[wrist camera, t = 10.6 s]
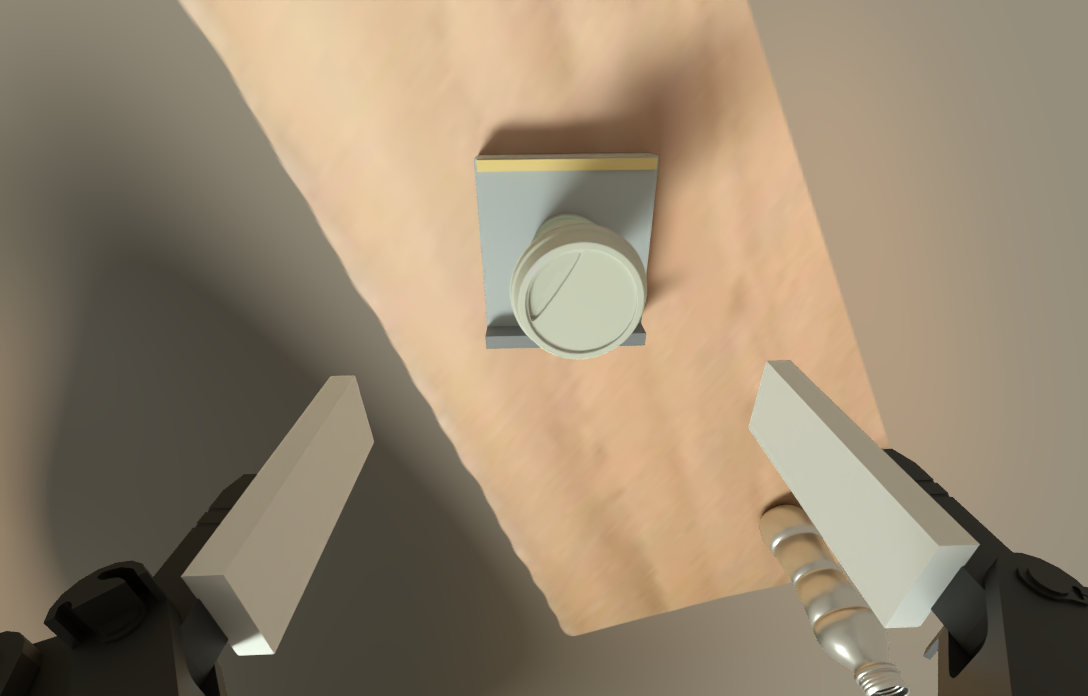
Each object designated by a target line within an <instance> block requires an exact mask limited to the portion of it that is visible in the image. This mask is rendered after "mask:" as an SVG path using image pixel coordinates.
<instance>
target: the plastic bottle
mask: <svg viewBox="0 0 1088 696" xmlns="http://www.w3.org/2000/svg"><path fill="white" fill-rule="evenodd" d="M759 529H760V533H761V536H762V539H763V541H764V543H765V544H766V545H767V547H768V548H769V550H770V551H771V552H772V553H773V555H774V556H775V557H776V558H777V559H778V561H779V563H780V564H781V566H782V567H783V569H784V570H785V572H786V573H787V575H788V576H789V578H790V580H791V581H792V583H793V586H794V587H795V589H796V591H797V594H798V596H799V598H800V600H801V602H802V604H803V606H804V609H805V611H806V614H807V616H808V619H809V621H810V624H811V627H812V629H813V632H814V634H815V637H816V639H817V641H818V643H819V644H820V645H821V647H822V648H823V649H824V650H825V651H826V652H827V653H828V654H829V655H830V656H832V657H833V658H834V659H835V660H837V661H838V662H839V663H841V664H843V665H844V666H846V667H847V668H849V669H851V670H852V671H853V672H854V673H855V675H854V679H855V681H856V682H857V684H858V685H859V686H860V687H861V689H862V690H863V692H864V694H865V695H866V696H908V695H909V694H910V689H909V686H908V685H907V683H906V682H905V681H904V679H903V677H902V676H901V674H900V671H899V670H898V668H897V667H896V665H894V664H892V663H890V661H889V640H888V633H887V631H886V628H884V627H883V625H882V624H881V622H880V621H879V619H878V618H877V616H876V615H875V614H874V612H873V611H872V609H871V608H870V606H869V605H868V603H867V602H866V601H865V600H864V598H863V597H862V596H861V595H860V594H859V593H858V592H857V591H856V589H855V588H854V587H853V586H852V584H851V583H850V581H849V580H848V579H847V577H846V576H845V575H844V574H843V572H842V571H841V569H840V568H839V567H838V565H837V564H836V562H835V560H834V558H833V556H832V555H831V553H830V551H829V549H828V548H827V546H826V544H825V542H824V540H823V537H822V536H821V534H820V533H819V531H818V530H817V528H816V527H815V525H814V524H813V522H812V521H811V519H810V518H809V516H808V515H807V513H806V512H805V511H804V510H803V509H801V508H799V507H796V506H793V505H781V506H777V507H774V508H772V509H770V510H768V511H767V512H766V513H765V514H764V515H763V516H762V518H761V520H760V525H759Z"/></svg>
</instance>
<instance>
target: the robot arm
mask: <svg viewBox="0 0 1088 696" xmlns="http://www.w3.org/2000/svg"><path fill="white" fill-rule="evenodd" d="M749 430H750V431H751V433H752V434H753V436H754V437H755V438H756V440H757V441H758V443H759V444H760V446H761V447H762V449H763V450H764V452H765V453H766V455H767V456H768V458H769V459H770V461H771V462H772V463H773V465H774V466H775V468H776V469H777V471H778V472H779V474H780V475H781V477H782V478H783V480H784V481H785V483H786V484H787V486H788V487H789V488H790V490H791V491H792V493H793V494H794V496H795V497H796V499H797V500H798V502H799V503H800V505H801V506H802V508H803V509H804V511H805V512H806V513H807V515H808V516H809V518H810V519H811V521H812V522H813V524H814V525H815V527H816V528H817V530H818V531H819V533H820V534H821V536H822V537H823V538H824V540H825V541H826V543H827V544H828V546H829V547H830V549H831V550H832V552H833V553H834V555H835V556H836V558H837V559H838V561H839V562H840V563H841V565H842V566H843V568H844V569H845V571H846V572H847V574H848V575H849V577H850V578H851V579H852V581H853V583H854V584H855V586H856V587H857V588H858V590H859V591H860V593H861V594H862V596H863V597H864V599H865V600H866V602H867V603H868V605H869V606H870V608H871V609H872V611H873V612H874V614H875V615H876V616H877V618H878V619H879V621H880V622H881V624H882V625H883V627H884V628H899V627H919V626H920V625H921V624H922V623H923V621H924V620H925V618H926V617H927V616H928V614H929V613H930V612H931V610H932V611H933V612H934V613H935V615H936V616H937V617H938V618H939V620H940V621H941V622H942V623H943V625H944V626H943V628H942V629H941V630H940V631H939V633H938V634H937V635H936V637H935V638H934V639H933V640H932V642H931V643H930V644H929V646H928V647H927V648H926V651H925V653H924V657H926V658H928V659H931V658H932V657H933V655H934V654H935V653H936V652H937V651H938V696H1088V587H1083V586H1082V585H1081V584H1080V583H1079V582H1078V581H1077V580H1076V579H1074V578H1073V577H1071V576H1070V575H1069V574H1067V573H1065V572H1064V571H1063V570H1061V569H1060V568H1058V567H1056V566H1054V565H1052V564H1050V563H1048V562H1046V561H1044V560H1042V559H1040V558H1036V557H1033V556H1030V555H1026V554H1023V553H1013V552H1012V551H1010V550H1009V549H1008V548H1007V547H1006V546H1005V545H1004V544H1003V543H1002V542H1001V541H1000V540H999V539H997V538H996V537H995V536H994V535H993V534H992V533H991V532H990V531H989V530H988V529H987V528H985V527H984V526H983V525H982V524H981V523H980V522H979V521H978V520H977V519H976V518H975V517H973V515H971V514H970V513H969V512H968V511H967V510H966V509H965V508H964V507H963V506H961V504H960V503H958V502H957V501H956V500H955V499H954V498H953V497H949V495H948V492H946V491H945V490H944V489H943V488H942V487H941V486H940V485H939V484H938V483H934V481H933V479H932V478H931V477H930V476H929V475H928V474H927V473H926V472H925V471H924V470H923V469H921V468H920V467H919V466H918V465H917V464H916V463H915V462H913V461H911V460H910V459H908V458H906V457H905V456H903V455H901V454H900V453H898V452H896V451H895V450H893V449H881V448H880V447H879V446H878V445H877V444H876V443H875V442H874V441H873V440H872V439H871V438H870V437H869V436H868V435H867V434H866V433H865V432H864V431H863V430H862V429H861V428H860V427H859V426H858V425H856V424H855V423H854V422H853V421H852V420H851V419H850V418H849V417H848V416H847V415H846V414H845V413H844V412H843V411H842V410H841V409H840V408H839V407H838V406H837V405H836V404H835V403H834V402H833V401H832V400H831V399H830V398H829V397H828V396H827V395H826V394H825V393H824V392H823V391H821V390H820V389H819V388H818V387H817V386H816V385H815V384H814V383H813V382H812V381H811V380H810V379H809V378H808V377H807V376H806V375H805V374H804V373H803V372H802V371H801V370H800V369H799V368H798V367H797V366H796V365H795V364H794V363H793V362H792V361H791V360H779V361H766V364H765V368H764V372H763V376H762V379H761V383H760V387H759V390H758V394H757V398H756V402H755V405H754V409H753V413H752V417H751V420H750V424H749ZM373 443H374V440H373V437H372V433H371V429H370V426H369V423H368V419H367V416H366V412H365V409H364V405H363V402H362V398H361V395H360V391H359V388H358V384H357V381H356V378H355V376H331V377H330V378H329V379H328V381H327V382H326V383H325V385H324V386H323V387H322V389H321V390H320V391H319V393H318V394H317V395H316V397H315V398H314V399H313V401H312V402H311V403H310V405H309V406H308V408H307V409H306V410H305V412H304V413H303V414H302V415H301V417H300V418H299V419H298V421H297V422H296V423H295V425H294V426H293V428H292V429H291V430H290V431H289V433H288V434H287V435H286V437H285V438H284V439H283V441H282V442H281V443H280V445H279V446H278V448H277V449H276V450H275V451H274V453H273V454H272V456H271V457H270V458H269V460H268V461H267V462H266V463H265V465H264V466H263V467H262V469H261V470H260V472H259V473H258V474H244V475H242V476H241V477H240V478H239V479H237V480H236V481H235V482H233V483H232V484H231V485H230V486H228V487H227V488H226V489H224V490H223V491H222V492H221V494H220V495H219V496H218V497H217V499H216V500H215V501H214V502H213V504H212V505H211V506H210V508H209V511H208V512H205V514H204V515H203V516H202V517H201V519H200V520H199V521H198V522H197V524H196V527H195V528H192V530H191V531H190V532H189V533H188V535H187V536H186V537H185V538H184V540H183V541H182V542H181V543H180V545H179V546H178V547H177V548H176V550H175V551H174V552H173V553H172V554H171V556H170V557H169V558H168V559H167V561H166V562H165V563H164V564H163V566H162V567H161V568H160V569H159V571H158V572H157V573H156V574H155V576H154V577H152V575H151V574H150V573H149V572H148V570H147V569H146V568H145V566H144V565H143V564H142V563H138V562H135V561H125V562H118V563H114V564H112V565H109V566H106V567H104V568H101V569H98V570H97V571H95V572H93V573H92V574H90V575H88V576H86V577H85V578H83V579H81V580H79V581H78V582H77V583H76V584H74V585H73V586H72V587H71V588H70V589H68V590H67V591H66V592H64V593H63V594H62V595H61V596H60V598H59V599H58V600H57V601H56V602H55V603H54V605H53V606H52V607H51V608H50V609H49V612H48V614H47V616H46V619H45V621H44V624H45V625H46V626H48V628H49V629H50V630H51V631H53V632H54V633H55V634H56V635H57V636H56V637H53V638H50V639H47V640H44V641H41V642H38V643H34V644H32V643H31V642H30V641H29V640H27V639H26V638H25V637H24V636H23V635H22V634H21V633H19V632H10V631H6V632H2V633H0V696H227V691H226V686H225V681H224V676H223V671H222V667H221V665H220V664H219V662H218V660H217V658H218V657H219V655H220V653H221V651H222V650H223V648H224V646H225V644H226V643H227V641H228V642H229V644H230V645H231V646H232V648H233V649H234V650H235V652H236V653H237V654H238V655H258V654H259V655H261V654H275V651H276V649H277V647H278V645H279V643H280V641H281V639H282V636H283V634H284V632H285V630H286V628H287V626H288V624H289V622H290V620H291V617H292V615H293V613H294V611H295V609H296V607H297V605H298V603H299V600H300V598H301V596H302V594H303V592H304V590H305V588H306V586H307V583H308V581H309V579H310V577H311V575H312V573H313V571H314V568H315V566H316V564H317V562H318V560H319V558H320V556H321V553H322V551H323V549H324V547H325V545H326V543H327V541H328V539H329V537H330V534H331V532H332V530H333V528H334V526H335V524H336V522H337V519H338V517H339V515H340V513H341V511H342V509H343V507H344V505H345V502H346V500H347V498H348V496H349V494H350V492H351V490H352V488H353V486H354V483H355V481H356V479H357V477H358V475H359V473H360V471H361V468H362V466H363V464H364V462H365V460H366V458H367V456H368V454H369V452H370V449H371V447H372V445H373Z"/></svg>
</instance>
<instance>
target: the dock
mask: <svg viewBox="0 0 1088 696" xmlns="http://www.w3.org/2000/svg"><path fill="white" fill-rule="evenodd" d="M658 165H659V156H658V155H655V154H652V153H601V154H523V155H478V156H476V157H475V158H474V166H475V178H476V191H477V203H478V215H479V227H480V240H481V252H482V264H483V277H484V289H485V301H486V314H487V326H488V327H487V332H486V348H487V349H497V348H541V347H539V346H538V345H537V344H536V343H535V342H534V341H532V340H531V339H530V338H529V337H528V336H527V335H526V334H525V333H524V331H523V330H522V329H521V327H520V325H519V324H518V322H517V320H516V317H515V315H514V312H513V309H512V306H511V301H510V281H511V276H512V273H513V270H514V267H515V265H516V263H517V261H518V259H519V257H520V256H521V254H522V253H523V252H524V250H525V249H526V248H527V247H528V246H529V245H530V244H531V242H532V240H533V238H534V236H535V234H536V232H537V230H538V228H539V227H540V226H541V225H542V224H543V223H544V222H545V221H546V220H548V219H549V218H551V217H553V216H555V215H558V214H562V213H574V214H578V215H581V216H583V217H585V218H587V219H588V220H590V221H592V222H593V223H595V224H596V225H599V226H602V227H605V228H608V229H610V230H612V231H614V232H616V233H618V234H619V235H621V236H622V237H623V238H625V239H626V240H627V241H628V242H629V243H630V244H631V245H632V246H633V247H634V249H635V250H636V251H637V253H638V255H639V256H640V258H641V260H642V263H643V266H644V269H645V273H647V264H648V255H649V246H650V237H651V228H652V219H653V210H654V201H655V192H656V183H657V174H658ZM641 319H642V316H641V318H640V320H639V323H638V324H637V326H636V328H635V330H634V331H633V332H632V334H631V335H630V336H629V337H628V338H627V339H626V340H625V341H624V342H623V343H622V344H621V345H619V346H636V345H645V339H646V332H645V330H644V328H643V326H642V324H641Z"/></svg>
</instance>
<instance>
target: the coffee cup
mask: <svg viewBox="0 0 1088 696" xmlns="http://www.w3.org/2000/svg"><path fill="white" fill-rule="evenodd" d="M646 299H647V279H646V273H645V269H644V266H643V263H642V260H641V258H640V256H639V255H638V253H637V251H636V250H635V249H634V247H633V246H632V245H631V244H630V243H629V242H628V241H627V240H626V239H625V238H623V237H622V236H621V235H619V234H618V233H616V232H614V231H612V230H610V229H608V228H605V227H602V226H599V225H596V224H595V223H593V222H592V221H590V220H588V219H587V218H585V217H583V216H581V215H578V214H574V213H562V214H558V215H555V216H553V217H551V218H549V219H548V220H546V221H545V222H544V223H543V224H542V225H541V226H540V227H539V228H538V230H537V232H536V234H535V236H534V238H533V240H532V242H531V244H530V245H529V246H528V247H527V248H526V249H525V250H524V252H523V253H522V254H521V256H520V257H519V259H518V261H517V263H516V265H515V267H514V270H513V273H512V276H511V281H510V301H511V306H512V309H513V312H514V315H515V317H516V320H517V322H518V324H519V325H520V327H521V329H522V330H523V331H524V333H525V334H526V335H527V336H528V337H529V338H530V339H531V340H532V341H534V342H535V343H536V344H537V345H538V346H539V347H541V348H542V349H544V350H545V351H547V352H549V353H551V354H553V355H556V356H559V357H563V358H568V359H588V358H593V357H597V356H600V355H603V354H605V353H608V352H610V351H611V350H613V349H615V348H617V347H618V346H619V345H621V344H622V343H623V342H624V341H625V340H626V339H627V338H628V337H629V336H630V335H631V334H632V332H633V331H634V330H635V328H636V326H637V324H638V323H639V320H640V318H641V316H642V313H643V310H644V307H645V304H646Z"/></svg>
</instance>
